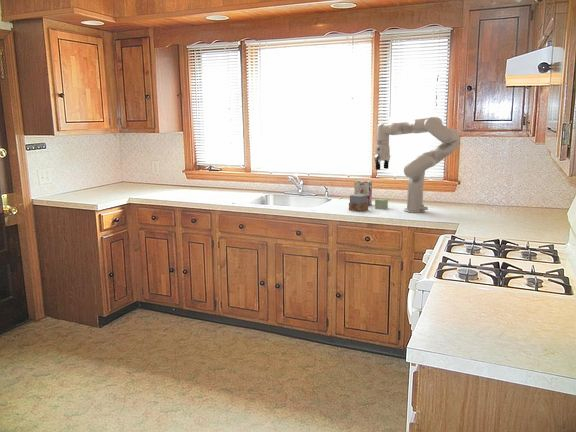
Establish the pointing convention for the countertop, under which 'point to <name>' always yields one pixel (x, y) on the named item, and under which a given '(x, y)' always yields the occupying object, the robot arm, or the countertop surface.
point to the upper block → (358, 199)
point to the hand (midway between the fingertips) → (381, 169)
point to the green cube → (381, 203)
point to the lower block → (358, 207)
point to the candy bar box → (364, 189)
